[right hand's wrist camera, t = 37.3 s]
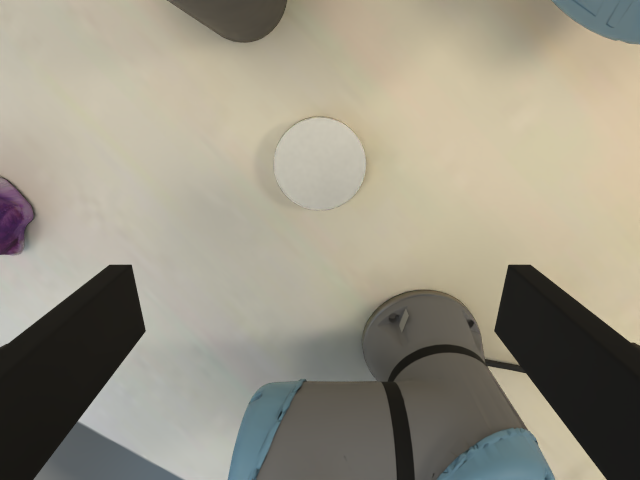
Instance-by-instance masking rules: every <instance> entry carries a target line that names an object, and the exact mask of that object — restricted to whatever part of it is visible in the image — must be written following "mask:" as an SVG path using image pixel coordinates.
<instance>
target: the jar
mask: <svg viewBox="0 0 640 480" xmlns="http://www.w3.org/2000/svg"><path fill="white" fill-rule="evenodd" d="M167 1H169V2H170V3H172V4H174V5H175V6H177V7H178V8H180V9H181V10H183V11H184V12H186V13H187V14H189V15H190V16H192V17H193V18H195V19H196V20H198V21H199V22H201V23H202V24H204V25H205V26H207V27H208V28H210V29H211V30H213V31H214V32H216V33H218V34H219V35H221V36H222V37H224V38H226V39H229V40H232V41H236V42H252V41H256V40H258V39H261V38H263V37H264V36H266V35H267V34H269V33H270V32H271V31H272V30H273V29H274V28H275V27H276V26H277V24H278V23H279V21H280V19H281V17H282V15H283V13H284V10H285V7H286V2H287V0H167Z"/></svg>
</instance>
